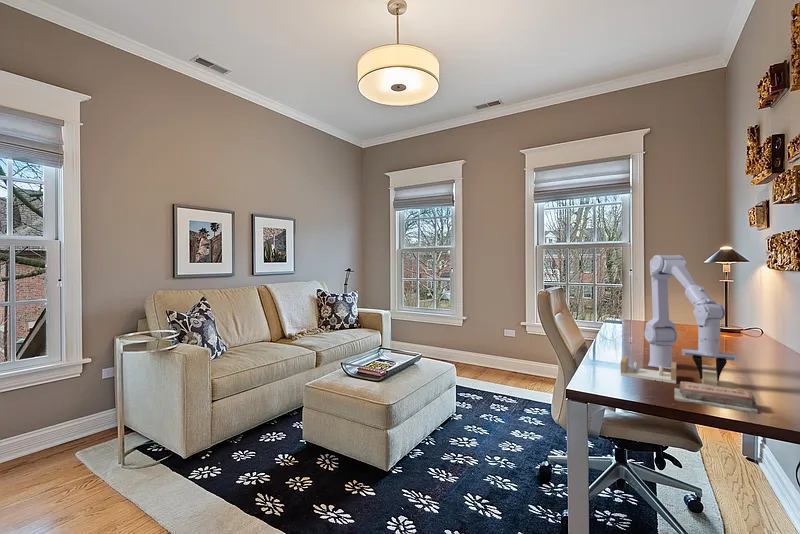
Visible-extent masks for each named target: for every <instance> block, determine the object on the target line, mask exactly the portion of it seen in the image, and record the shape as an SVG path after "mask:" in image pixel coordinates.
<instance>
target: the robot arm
mask: <svg viewBox="0 0 800 534" xmlns="http://www.w3.org/2000/svg"><path fill="white" fill-rule="evenodd" d="M687 265H688V263H687V261H686V260H685V258H684V256H682V255H681V254H677V255H667V254H666V255H665V254H664V255H663V254H662V255H659V254H655V255H654V256H653V257H652V258H651V259H650V260H649V276H650V277H651V278H650V280H651V283H650V284H651V305H652V307H651V308H652V311H651V312H652V318H651V319H650V320H649V321H647V322H646V323H645V330H644V332H643V333H644V338H645V340H646V341H647V343H649V361H648V364H647V366H648V367H652V368H658V369H659V365H662V366H663V369H666V370H667V369H668V370H671V362H673V356H672V355H673V345H674V343H676V342H677V339H678V336H679V335H678V332H677V329H676V323H674V322H673V321H672V320H670V315H669V314H670V313H669V312H670V310H669V285H668V284H669V283H668V280H670V278H671V277H672V276H674V277H675V278H676V280H677V281H679V284H681V286H682V287H684V289H685V290H684V296H685V297H686V298H687V299H688V301H689V303H690V304H691V305H692V307H693V309H694V310H692V311H693V313H692V314H693V316H694V317H695V320H696V321H695V322H696V324H697V331H698V332H697V333H698V335H697V338H698V339H697V341H698V342H697V345H698V346H697V349H688V348H682V349H681V355H682V356H684V357H685V356H686V357H687V356H688V357H689V356H690V357H692V360H693V362H694V364H695V366H696V368H697V371H698V374H699V379H700V380H702V379H703V374H702V365H703V358H705V359H715V369H716V372H717V382H719V381H720V376H721V373H722V371H723V369H724V368H725V366H726V365H727V363H728V362H727V361H734V362H739V355H738V354H737V353H728V352H723V351H722V352H721V320H723V319H724V318H725V314H726V311H725V308H724V306H723V305H722V304H721V303H719V302H717V301H715V300H713V299H712V297H711V296H710V295H709V294H708V292H707V290H706V289H705V287H704V286H703V285H699V284H697V283H696V282H695V280H694V279H693V277H692V275H691V274H690V272H689V270H688V268H687Z"/></svg>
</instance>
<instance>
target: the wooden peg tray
mask: <svg viewBox="0 0 800 534" xmlns="http://www.w3.org/2000/svg"><path fill="white" fill-rule="evenodd" d="M621 375H622V377H629V378H635V379H643V380H649V381H655V380H656V381H657V382H662V381H663V383H670V384H677V362H676V361H672V362H671V369H670V371H664V368H663V366H662V365H659V368H658V370H653V369H646V368H640V367H639V362H638V361H637V362H636V361H634V363H633V366H629V356H628V355H624V356H623V357H622V359H621V360H620V376H621Z"/></svg>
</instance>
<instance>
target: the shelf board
mask: <svg viewBox="0 0 800 534" xmlns="http://www.w3.org/2000/svg"><path fill="white" fill-rule="evenodd" d="M702 374H703V379H701V384H705V385H712V386H718V381H717V372H716V365H715V366H714V365H707V364H702Z"/></svg>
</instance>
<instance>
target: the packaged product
mask: <svg viewBox="0 0 800 534" xmlns="http://www.w3.org/2000/svg"><path fill="white" fill-rule="evenodd" d="M673 393H674V400H675V402H676V401H678V402H684V403H691V404H696V405H700V406H701V405H702V406H707V407H713V408H719V409H720V408H721V409H725V410H732V411H738V412H739V411H740V412H746V413H751V414H755V415H756V414H757V415H758V413H759V411H758V409H757V402H756V398H755V396H754V395H753V393H752V392H751V390H745V389H738V388H733V387H725V386H718V385H717V386H712V385H705V384H703V383H698V382H697V383H696V382H693V381H692V382H691V381H684V380H683V381H682V380H681V381H680V382H679V388H676V387H674V392H673Z"/></svg>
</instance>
